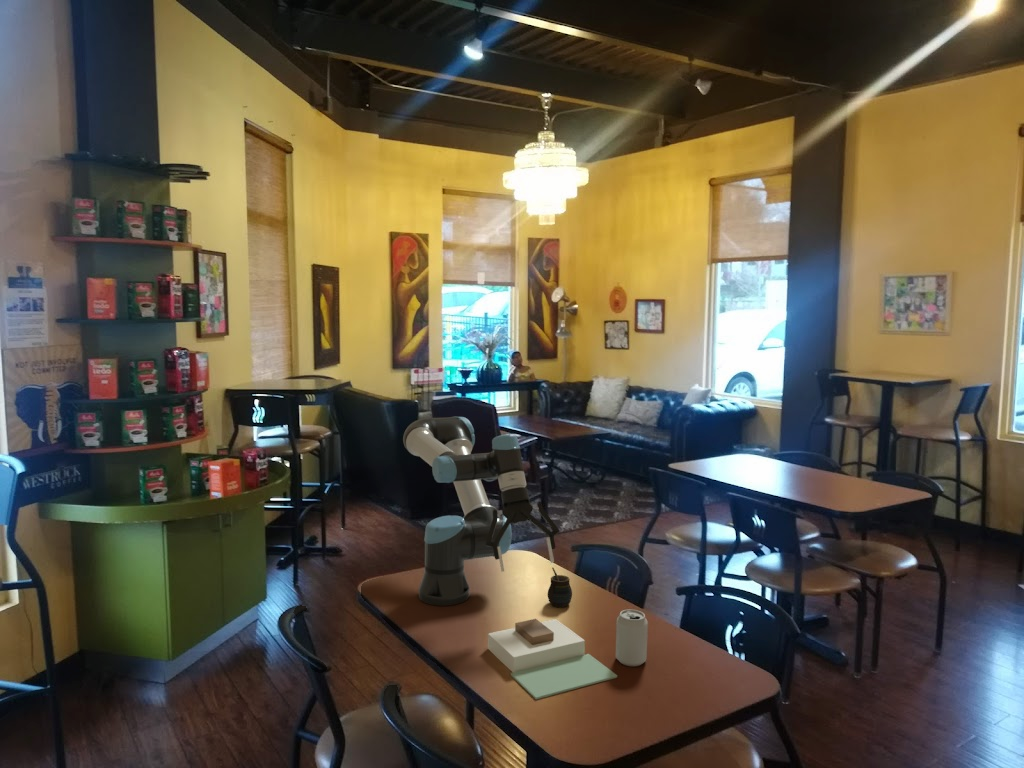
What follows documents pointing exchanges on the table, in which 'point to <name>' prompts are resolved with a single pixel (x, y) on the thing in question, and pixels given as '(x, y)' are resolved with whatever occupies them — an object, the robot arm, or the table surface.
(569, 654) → the white flat block
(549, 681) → the mat
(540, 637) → the brown wooden slab
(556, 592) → the mate gourd
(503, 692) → the table surface
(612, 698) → the table surface
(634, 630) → the can
